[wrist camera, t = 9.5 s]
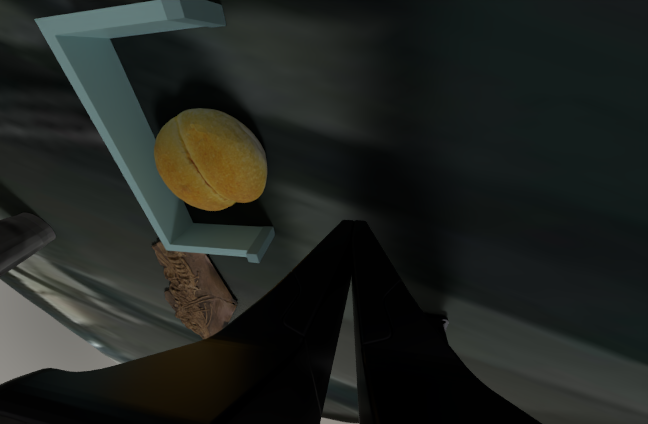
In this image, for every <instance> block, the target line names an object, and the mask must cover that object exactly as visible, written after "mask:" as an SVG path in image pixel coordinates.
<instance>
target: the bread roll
mask: <svg viewBox="0 0 648 424" xmlns="http://www.w3.org/2000/svg"><path fill="white" fill-rule="evenodd" d="M154 158H155V163H156V167H157V170H158V172H159V174H160V176H161V178H162V179H163V181H164V183H165V184H166V185H167V187H168V188H169V189H170V190H171V191H172V192H173V193H174V194H175V195H176V196H177V197H178V198H180V199H182V200H183V201H185V202H186V203H188V204H189V205H191V206H194V207H197V208H200V209H203V210H207V211H219V210H223V209H225V208H228V207H230V206H232V205H233V204H234V203H236V202H240V203H247V202H251V201H254V200H256V199H257V198H258V197H259V196H260V195H261V194H262V192H263V190H264V188H265V184H266V179H267V161H266V154H265V151H264V149H263V147H262V145H261V143H260V142H259V141H258V139H257V138H256V137H255V135H254V134H253V133H252V132H251V131H250V130H249V129H248V128H247V127H246V126H245V125H244V124H242V123H241V122H239V121H238V120H237V119H235V118H234V117H232V116H230V115H228V114H226V113H224V112H221V111H218V110H214V109H202V108H197V109H189V110H186V111H183V112H181V113H180V114H179V115H177V116H176V117H174V118H173V119H171V120H170V121H169V122H167V123H166V124H165V125H164V126H163V127H162V129H161V130H160V132H159V134H158V136H157V138H156V141H155V145H154Z"/></svg>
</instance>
